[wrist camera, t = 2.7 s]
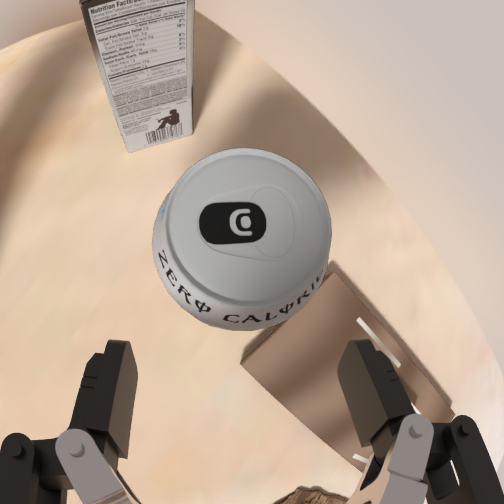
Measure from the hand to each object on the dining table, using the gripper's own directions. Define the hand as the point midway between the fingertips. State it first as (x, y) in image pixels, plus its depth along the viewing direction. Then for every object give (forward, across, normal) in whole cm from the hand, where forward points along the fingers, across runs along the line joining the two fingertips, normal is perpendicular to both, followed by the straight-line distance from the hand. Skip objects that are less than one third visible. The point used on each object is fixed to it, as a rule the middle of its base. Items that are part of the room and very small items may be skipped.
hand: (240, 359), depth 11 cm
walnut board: (+4, -12, +12) cm, 17 cm away
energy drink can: (+11, 0, +6) cm, 13 cm away
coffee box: (+23, +7, -6) cm, 25 cm away
